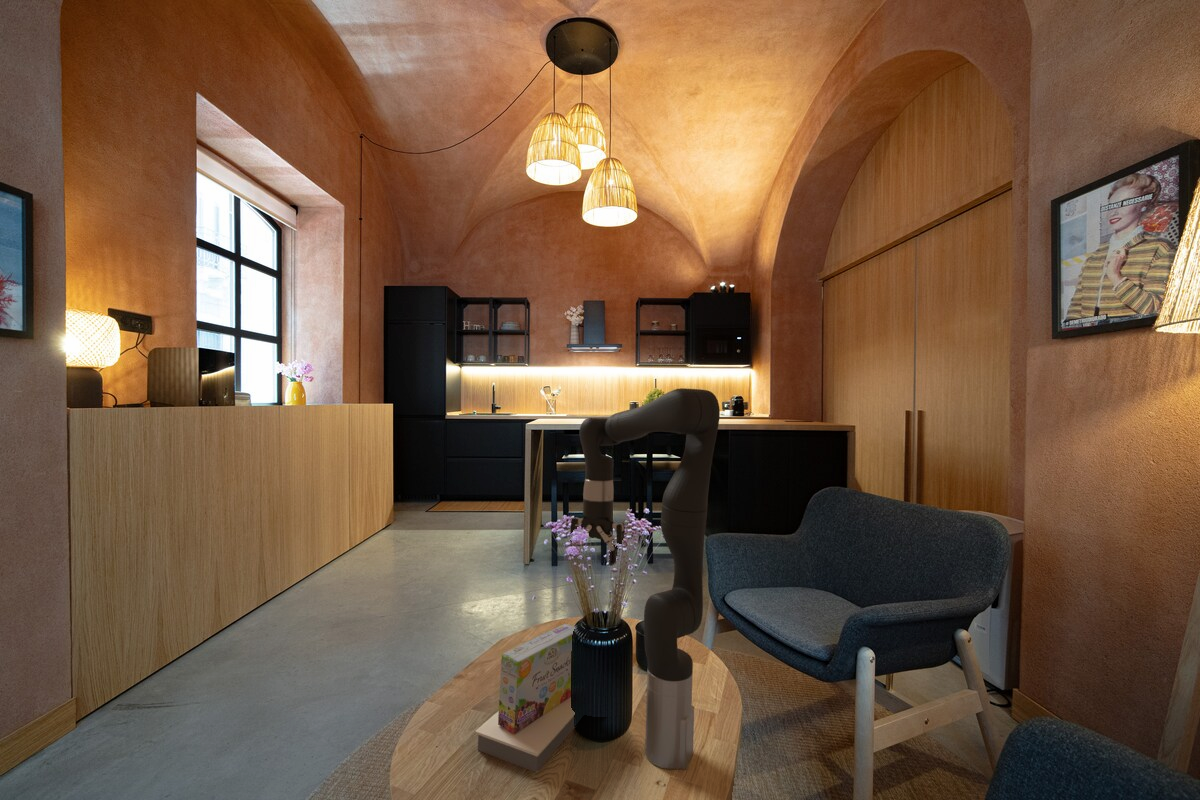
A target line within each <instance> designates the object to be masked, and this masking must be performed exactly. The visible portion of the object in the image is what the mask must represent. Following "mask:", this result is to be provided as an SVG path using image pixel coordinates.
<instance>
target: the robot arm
mask: <svg viewBox="0 0 1200 800" xmlns="http://www.w3.org/2000/svg"><path fill="white" fill-rule="evenodd" d="M720 414H721V409H720V404H719V400H718V398H717V396H716V395H715V394H714V393H713V392H712V391H710V390H707V389H699V388H698V389H697V388H687V387H686V388H683V387H682V388H676V389H673V390H670V391H668V392H666V393H664V394H662V395H661V396H658V397H657V398H655V399H654V400H651V401H650V402H648V403H646V404H643V405H641V406H638V407H634V408H630V409H626V410H622V411H620V412H616V413H613V414H612V415H610V416H609V417H586V418H585V419H584V420H583V421H582V423H581V424H580V427H579V431H578V432H579V433H578V435H579V440H580V444H581V447H582V448H581V449H582V452H583V457H584V463H585V467H584V468H585V469H584V470H585V472H584V473H585V474H584V485H583V493H582V496H583V501H582V516H583V517H582V518H580V517H579V516H576V517H574V518H571V520H570V530H569V531H570V532H569V533H570V534H571V533H572V532H573V530H574V529H577V527H579V528H580V526H582V528H583V529H584V530H585V529H589V530H586V531H588V533H589V537H588V538H590V539H596V540H603V542H604V543H605V544H607V546H608V548H609V551H608V552H609V553H610V555H608V565H609V566H614V565H615V564H616V563H617V562H616V556H617V557H618V550H619V549H618V548H617V546H616V547H615V545H614V544H613V546H612V540H614V541H613V543H615V541H616V542H617V543H619V544H622V540H623V538H624V535H625V536H626V533H625V532H626V529H625V528H626V525H625V523H624V522H620V523H614V521H613V517H614V492H615V491H614V459H613V458H612V457H611V456H609V455H605V454H602V453H601V450H600V446H601V447H607V446H616V445H619V444H621V443H623V442H629V441H635V440H638V439H641V438H643V437H645V436H647V435H648V434H650V433H654V432H655V433H656V432H657V433H658V432H661V433H662V432H663V433H675V434H678V435H686V436H685V437H686V438H685V443H684V444H685V445H684V450H683V455H682V458H681V461H680V462H679V464H678V466H677V468H676V470H675V471H674V473H673V475H672V477H671V478H670V480H669V482H668V484H667V485H666V487H665V490H664V492H663V495H662V503H661V515H660V527H661V533H662V536H663V538H664V542H665V543H666V545H667V548H668V549H669V552H670V554H671V557H672V559H673V566H674V567H673V569H674V570H673V572H674V573H673V584H672V588H671V589H669V590H665V591H660V592H657V593H653V594H651V595H650V596H649V597H648V598H647V599H646V602H645V606H644V612H643V623H644V624H643V627H644V628H643V631H644V634H643V635H644V637H643V638H644V652H645V656H646V661H647V672H646V673H647V674H646V675H647V676H646V705H645V706H646V708H645V709H646V710H645V714H646V715H645V739H644V742H645V743H644V745H645V747H644V751H645V752H644V753H645V756H646V758H647V759H648V760H649V762H650V763H652V764H653V765H655V766H656V767H659V768H662V769H668V770H676V769H682V770H686V769H687V766H688V765H689V762H690V760H691V758H692V756H693V753H694V737H695V736H694V735H695V734H694V731H695V729H694V728H695V727H694V726H695V706H694V705H692V704H693V703H692V702H693V669H694V668H693V666H694V665H693V663H694V662H693V658H692V657H691V655H690V654H689V653H688V652H686V651H685V650H683V649H681V648H678V639H679V638H683V637H686V636H688V635H691V634H693V633H695V632H697V630H698V629H699V628H700V626H701V624H702V621H703V613H704V611H703V609H704V600H703V599H704V594H703V593H704V592H703V591H704V590H703V589H704V588H703V587H704V586H703V565H704V548H705V536H706V535H705V534H706V529H707V528H706V527H707V517H708V506H709V505H708V503H709V501H708V500H709V488H710V479H711V471H712V463H713V457H714V452H715V451H714V450H715V445H716V440H717V436H718V431H719V429H718V428H719V425H720V416H721V415H720ZM613 529H614V532H615V533H616V539H615V536H614V534H613V532H612V530H613ZM570 534H569V535H570ZM569 541H570V542H571V543H573V542H572V541H571V540H570V539H569ZM610 551H611V552H610ZM609 553H608V554H609ZM615 562H616V563H615Z"/></svg>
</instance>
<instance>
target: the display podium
mask: <svg viewBox="0 0 1200 800" xmlns="http://www.w3.org/2000/svg"><path fill="white" fill-rule="evenodd" d="M498 715H499V710H498V711H497V712H496V713H495V714H493V715H492V716H491V717H490V718H488V719H487V720H486V721H485V722H484V723H483V724H481V725H480V727H478V728H477V729H476V730H474V734H475V735H478V736H477V740H478V741H477V751H479V752H482V753H485V754H486V755H489V756H492V757H495V758H497V759H500V760H503V761H505V762H508V763H510V764H513V765H515V766H517V767H521V768H523V769H526V770H528V771H531V772H534V773H537V772H538V771H539V770H540V769H541V768H542V767H543V766H544V764H545V763H546V762H547V760H548V759H550V758H551V757H552V755H553V754H554V752H555V751H556V750H557V749H558V748H559V747H560V745H561V744H562V743H563V742H564V740H566V738H567V737H569V735H570V734H571V732H573V731H574V729H575V728H576V727H574V715H575V712H574V711H573V710H572V708H571V697H570V698H568V699H567V700H565V701H564V702H562V703H561V704H559V705H558V706H556V707H555V708H553V709H552V710H550V711H549V712H547V713H546V714H544V715H543V716H541V717H540V718H538V719H537V720H535V721H534V722H532V723H531V724H529V725H528V726H526V727H525V728H523V729H522V730H520V731H519V732H517V733H516V734H513V733H511V732H510V731H508V730H507V729H505V728H503V727H502V726H500V725H498Z"/></svg>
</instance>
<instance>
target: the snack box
mask: <svg viewBox="0 0 1200 800" xmlns="http://www.w3.org/2000/svg"><path fill="white" fill-rule="evenodd" d="M575 627H576V626H574V625H571V624H568V623H563V624H562V625H559V626H557V627H555V628H553V629H551V630H550V631H547V632H544V633H543V634H541V635H538V636H537V637H534V638H533V639H531V640H528V641H527V642H524V643H523V644H520V645H517V646H516V647H514V648H512V649H510V650H508V651H506V652H504V653H502V654H501V659H500V662H501V664H500V680H499V682H500V684H499V698H498V700H499V701H498V702H499V703H498V711H499V715H498V725H500V726H502V727H503V728H505V729H507V730H508V731H510V732H511V733H513V734H516V733H517V732H519V731H520V730H522V729H523V728H525V727H526V726H528V725H529V724H531V723H532V722H534V721H535V720H537V719H538V718H540V717H541V716H543V715H544V714H546V713H547V712H549V711H550V710H552V709H553V708H555V707H556V706H558V705H559V704H561V703H562V702H564V701H565V700H567V699H568V698H570V697H571V651H572V635H573V631H574V629H575Z"/></svg>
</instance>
